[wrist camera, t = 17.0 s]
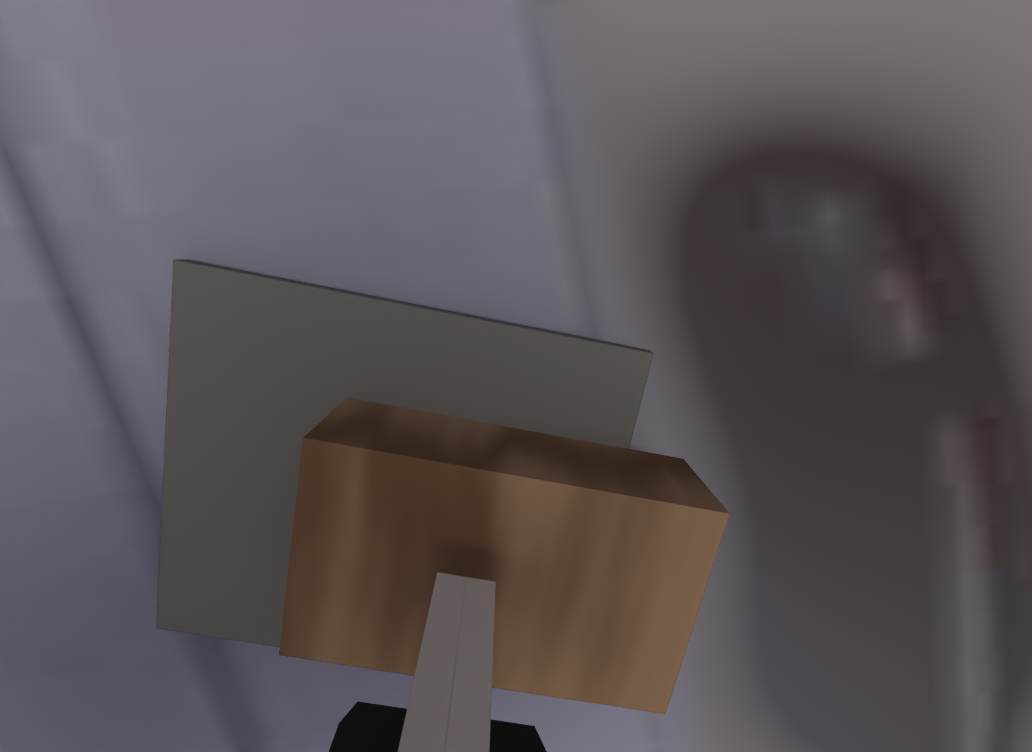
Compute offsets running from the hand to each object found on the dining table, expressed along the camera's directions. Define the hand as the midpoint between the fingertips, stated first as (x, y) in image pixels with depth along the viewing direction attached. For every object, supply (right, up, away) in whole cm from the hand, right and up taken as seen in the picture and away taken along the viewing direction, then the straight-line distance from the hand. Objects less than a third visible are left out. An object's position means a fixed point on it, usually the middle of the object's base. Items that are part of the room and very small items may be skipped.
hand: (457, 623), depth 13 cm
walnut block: (-5, +2, +3) cm, 6 cm away
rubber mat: (-3, +2, +6) cm, 7 cm away
